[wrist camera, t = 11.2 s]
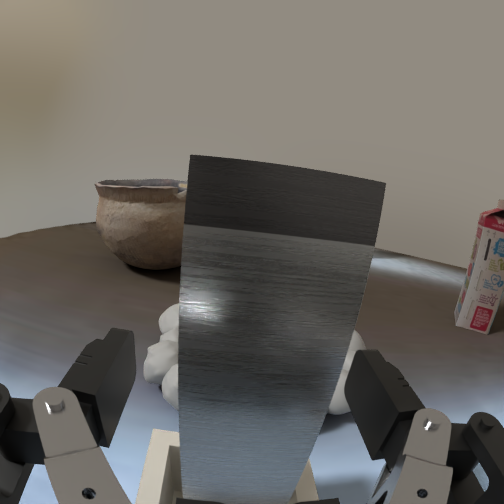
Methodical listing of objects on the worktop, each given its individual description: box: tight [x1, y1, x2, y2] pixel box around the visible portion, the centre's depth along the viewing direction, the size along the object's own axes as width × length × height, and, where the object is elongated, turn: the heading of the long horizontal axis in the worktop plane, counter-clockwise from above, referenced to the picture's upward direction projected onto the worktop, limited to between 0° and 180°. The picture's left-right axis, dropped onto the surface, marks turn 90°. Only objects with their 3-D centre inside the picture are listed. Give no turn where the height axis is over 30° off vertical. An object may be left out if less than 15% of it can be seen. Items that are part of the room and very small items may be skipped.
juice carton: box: [454, 200, 504, 335], centre depth 42 cm, size 7×7×22 cm
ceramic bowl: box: [95, 179, 187, 270], centre depth 55 cm, size 22×22×15 cm
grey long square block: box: [178, 155, 386, 504], centre depth 9 cm, size 4×4×18 cm
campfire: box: [144, 304, 366, 415], centre depth 29 cm, size 22×21×6 cm
